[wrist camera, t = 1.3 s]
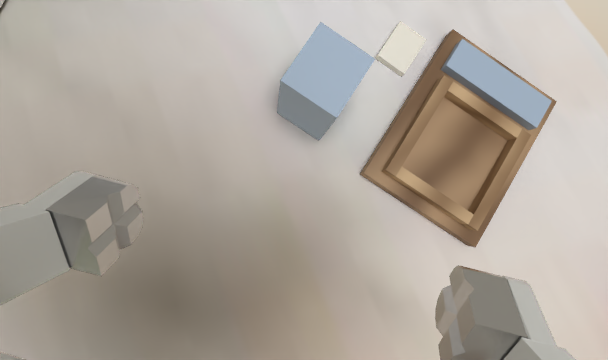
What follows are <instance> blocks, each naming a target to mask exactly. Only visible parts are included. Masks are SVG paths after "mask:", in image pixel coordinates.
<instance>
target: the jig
mask: <svg viewBox="0 0 608 360" xmlns="http://www.w3.org/2000/svg"><path fill="white" fill-rule="evenodd" d="M462 39H464V40H465V41H467V42H468V43H470V44H471V45H472V46H474V47H475V48H477V49H478V50H480V51H481V52H482V53H484V54H485V55H487V56H488V57H490V58H491V59H493V60H494V61H495V62H497V63H498V64H500V65H501V66H503V67H504V68H505V69H507V70H508V71H510V72H511V73H513V74H514V75H515V76H517V77H518V78H520V79H521V80H523V81H524V82H526V83H527V84H528V85H530V86H531V87H533V88H534V89H536V90H537V91H538V92H540V93H541V94H543V95H544V96H546V97H547V98H548V99H550V100H551V101H552V102H551V104H550V106H549V107H548V109H547V111H546V113H545V114H544V116H543V118H542V120H541V122H540V123H539V125H538V127H537V128H535V129H531V130H527V129H526V128H525V127H523V126H522V125H520V124H519V123H517V122H516V121H514V120H513V119H511V118H510V117H509V116H507V115H506V114H504V113H503V112H501V111H500V110H498V109H497V108H495V107H494V106H493V105H491V104H490V103H488V102H487V101H485V100H484V99H482V98H481V97H480V96H478V95H477V94H475V93H474V92H472V91H471V90H469V89H468V88H466V87H465V86H464V85H462V84H461V83H459V82H458V81H456V80H455V79H453V78H452V77H451V76H449V75H448V74H446V73H445V72H443V71H442V70H441V68H442V67H443V65H444V63H445V62H446V60H447V58H448V57H449V55H450V54H451V52H452V50H453V49H454V47H455V45H456V44H457V43H458V42H459V41H460V40H462ZM555 104H556V101H555V100H554V99H552V98H551V97H549V96H548V95H546V94H545V93H544V92H542V91H541V90H539V89H538V88H536V87H535V86H534V85H532V84H531V83H529V82H528V81H526V80H525V79H524V78H522V77H521V76H519V75H518V74H516V73H515V72H513V71H512V70H511V69H509V68H508V67H506V66H505V65H503V64H502V63H501V62H499V61H498V60H496V59H495V58H493V57H492V56H491V55H489V54H488V53H486V52H485V51H483V50H482V49H481V48H479V47H478V46H476V45H475V44H473V43H472V42H470V41H469V40H468V39H466V38H465V37H463V36H462V35H460V34H459V33H458V32H456V31H455V30H452V31H451V32H449V33H448V34H447V35H446V37H445V38H444V40H443V42H442V43H441V45H440V46H439V48H438V50H437V51H436V53H435V54H434V56H433V58H432V59H431V61H430V62H429V64H428V66H427V67H426V69H425V70H424V72H423V74H422V75H421V77H420V78H419V80H418V82H417V83H416V85H415V86H414V88H413V90H412V91H411V93H410V95H409V96H408V98H407V99H406V101H405V103H404V104H403V106H402V107H401V109H400V111H399V112H398V114H397V115H396V117H395V119H394V120H393V122H392V123H391V125H390V127H389V128H388V130H387V131H386V133H385V135H384V136H383V138H382V139H381V141H380V143H379V144H378V146H377V147H376V149H375V151H374V152H373V154H372V155H371V157H370V159H369V160H368V162H367V163H366V165H365V167H364V168H363V170H362V172H361V173H360V175H362V176H363V177H365V178H366V179H368V180H369V181H371V182H372V183H374V184H375V185H377V186H378V187H380V188H381V189H383V190H384V191H386V192H387V193H389V194H391V195H392V196H394V197H395V198H397V199H398V200H400V201H401V202H403V203H404V204H406V205H407V206H409V207H410V208H412V209H413V210H415V211H416V212H418V213H419V214H421V215H422V216H424V217H425V218H427V219H428V220H430V221H431V222H433V223H434V224H436V225H437V226H439V227H440V228H442V229H443V230H445V231H446V232H448V233H449V234H451V235H452V236H454V237H456V238H457V239H459V240H460V241H462V242H463V243H465V244H466V245H468V246H472V247H476V245H477V244H478V242H479V240H480V238H481V236H482V235H483V233H484V231H485V229H486V227H487V226H488V224H489V222H490V220H491V218H492V217H493V215H494V213H495V211H496V210H497V208H498V206H499V204H500V202H501V201H502V199H503V197H504V195H505V193H506V192H507V190H508V188H509V186H510V184H511V183H512V181H513V179H514V177H515V175H516V174H517V172H518V170H519V168H520V166H521V165H522V163H523V161H524V159H525V157H526V156H527V154H528V152H529V150H530V148H531V147H532V145H533V143H534V141H535V139H536V138H537V136H538V134H539V132H540V130H541V129H542V127H543V125H544V123H545V121H546V120H547V118H548V116H549V114H550V113H551V111H552V109H553V107H554V105H555Z"/></svg>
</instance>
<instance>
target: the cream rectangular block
mask: <svg viewBox="0 0 608 360" xmlns="http://www.w3.org/2000/svg"><path fill="white" fill-rule="evenodd" d="M425 42H426V39H425V38H423V37H422V36H420V35H419V34H418V33H416V32H415V31H414V30H412V29H411V28H409V27H408V26H407V25H405V24H404V23H402V22H401V21H400V23H399V24H398V25H397V27H396V28H395V30H394V31H393V33H392V34H391V36H390V37H389V39H388V40H387V42H386V43H385V45H384V46H383V48H382V49H381V50H380V52H379V53H378V55H377V56H376V58H375V59H377V60H378V61H380V62H381V63H382V64H384V65H385V66H387V67H388V68H389V69H391V70H392V71H394V72H395V73H397V74H398V75H399V76H401V77H402V76H403V75H404V74H405V72H406V71H407V69H408V68H409V66H410V65H411V63H412V62H413V60H414V59H415V57H416V56H417V54H418V53H419V51H420V49H421V48H422V46H423V45H424V43H425Z"/></svg>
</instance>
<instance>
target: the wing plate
mask: <svg viewBox="0 0 608 360" xmlns="http://www.w3.org/2000/svg"><path fill="white" fill-rule="evenodd" d="M441 70H442V71H443V72H445V73H446V74H448V75H449V76H451V77H452V78H453V79H455V80H456V81H458V82H459V83H461V84H462V85H464V86H465V87H466V88H468V89H469V90H471V91H472V92H474V93H475V94H477V95H478V96H480V97H481V98H482V99H484V100H485V101H487V102H488V103H490V104H491V105H493V106H494V107H495V108H497V109H498V110H500V111H501V112H503V113H504V114H506V115H507V116H509V117H510V118H511V119H513V120H514V121H516V122H517V123H519V124H520V125H522V126H523V127H525V128H526V129H527V130H531V129H535V128H537V127H538V125H539V123H540V122H541V120H542V118H543V116H544V114H545V113H546V111H547V109H548V107H549V106H550V104H551V102H552V101H551V100H550V99H548V98H547V97H546V96H544V95H543V94H541V93H540V92H538V91H537V90H536V89H534V88H533V87H531V86H530V85H528V84H527V83H526V82H524V81H523V80H521V79H520V78H518V77H517V76H515V75H514V74H513V73H511V72H510V71H508V70H507V69H505V68H504V67H503V66H501V65H500V64H498V63H497V62H495V61H494V60H493V59H491V58H490V57H488V56H487V55H485V54H484V53H482V52H481V51H480V50H478V49H477V48H475V47H474V46H472V45H471V44H470V43H468V42H467V41H465V40H464V39H462V40H460V41H459V42H458V43H457V44H456V45H455V47H454V49H453V50H452V52H451V54H450V55H449V57H448V58H447V60H446V62H445V63H444V65H443V67H442V68H441Z"/></svg>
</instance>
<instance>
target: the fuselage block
mask: <svg viewBox="0 0 608 360" xmlns="http://www.w3.org/2000/svg"><path fill="white" fill-rule="evenodd" d="M374 60H375V59H374V58H373V57H371V56H370V55H368V54H367V53H365V52H364V51H363V50H361V49H360V48H358V47H357V46H355V45H354V44H352V43H351V42H349V41H348V40H346V39H345V38H344V37H342V36H341V35H339V34H338V33H336V32H335V31H333V30H332V29H330V28H329V27H327V26H326V25H324V24H323V23H322V22H320V23H319V25H318V26H317V28H316V29H315V31H314V32H313V34H312V35H311V37H310V38H309V40H308V41H307V42H306V44H305V45H304V47H303V48H302V50H301V51H300V53H299V54H298V56H297V57H296V59H295V60H294V61H293V63H292V64H291V66H290V67H289V69H288V70H287V72H286V73H285V75H284V76H283V78H282V79H281V81H280V89H279V98H278V107H277V113H278V114H279V115H281V116H282V117H284V118H285V119H287V120H288V121H290V122H291V123H293V124H294V125H296V126H297V127H299V128H300V129H302V130H303V131H305V132H306V133H308V134H309V135H311V136H313V137H314V138H316V139H317V140H320V139H321V137H322V136H323V135H324V134H325V132H326V131H327V130H328V129H329V127H330V126H331V125H332V124H333V122H334V121H335V120H336V119H337V117H338V116H339V114H340V112H341V111H342V109H343V108H344V106H345V105H346V103H347V102H348V100H349V99H350V97H351V96H352V94H353V92H354V91H355V89H356V88H357V86H358V85H359V83H360V82H361V80H362V79H363V77H364V75H365V74H366V72H367V71H368V69H369V68H370V66H371V65H372V63H373V62H374Z"/></svg>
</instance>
